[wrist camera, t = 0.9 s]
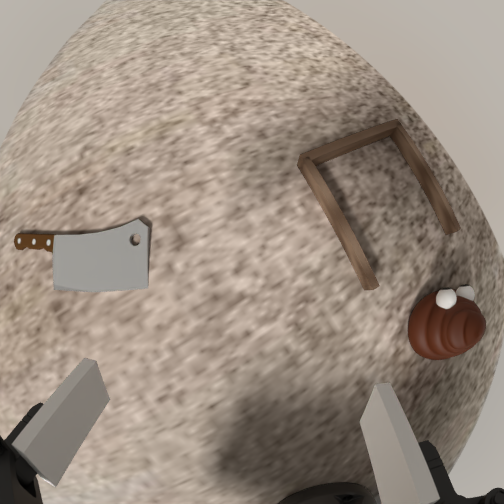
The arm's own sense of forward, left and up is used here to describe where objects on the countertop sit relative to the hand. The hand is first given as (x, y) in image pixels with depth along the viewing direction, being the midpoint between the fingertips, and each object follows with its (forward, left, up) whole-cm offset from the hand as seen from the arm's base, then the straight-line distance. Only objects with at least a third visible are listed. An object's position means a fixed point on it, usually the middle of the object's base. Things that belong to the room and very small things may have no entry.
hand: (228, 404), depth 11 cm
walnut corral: (+6, -21, -16) cm, 27 cm away
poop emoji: (-10, -21, -17) cm, 28 cm away
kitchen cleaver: (+17, +16, -17) cm, 29 cm away
